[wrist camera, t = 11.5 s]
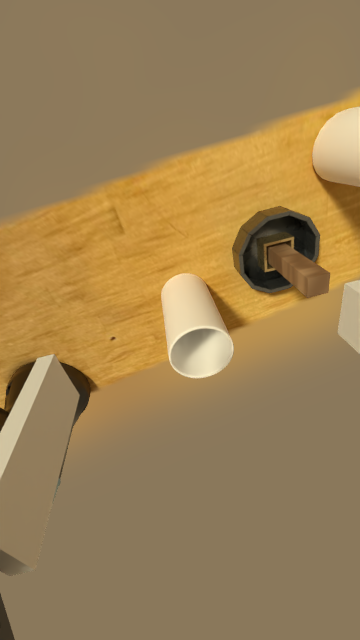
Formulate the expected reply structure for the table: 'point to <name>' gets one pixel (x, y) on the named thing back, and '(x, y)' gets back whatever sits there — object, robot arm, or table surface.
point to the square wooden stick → (298, 270)
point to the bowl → (269, 231)
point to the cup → (194, 328)
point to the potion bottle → (339, 148)
